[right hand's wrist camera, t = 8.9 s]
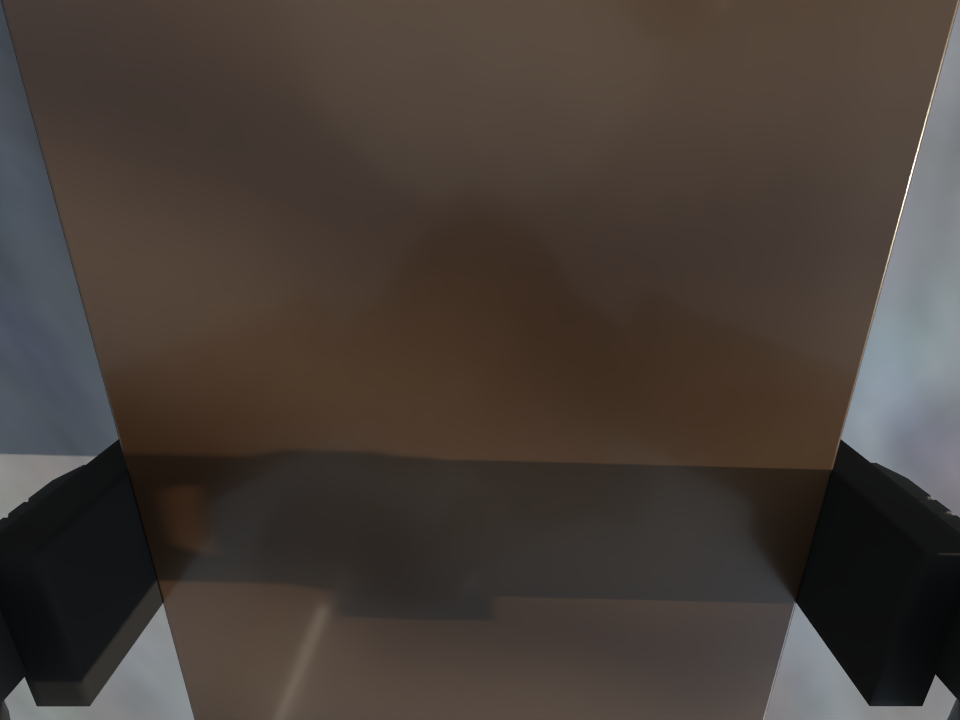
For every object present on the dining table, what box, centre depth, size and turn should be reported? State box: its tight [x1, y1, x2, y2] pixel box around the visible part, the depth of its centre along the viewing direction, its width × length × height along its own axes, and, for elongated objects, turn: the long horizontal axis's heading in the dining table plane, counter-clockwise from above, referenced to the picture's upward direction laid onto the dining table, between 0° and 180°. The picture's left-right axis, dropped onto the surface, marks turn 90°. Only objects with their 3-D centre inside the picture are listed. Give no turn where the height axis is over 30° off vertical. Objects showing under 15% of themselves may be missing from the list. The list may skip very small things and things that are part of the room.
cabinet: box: [1, 0, 960, 720], centre depth 12 cm, size 22×11×10 cm, turn 0°
